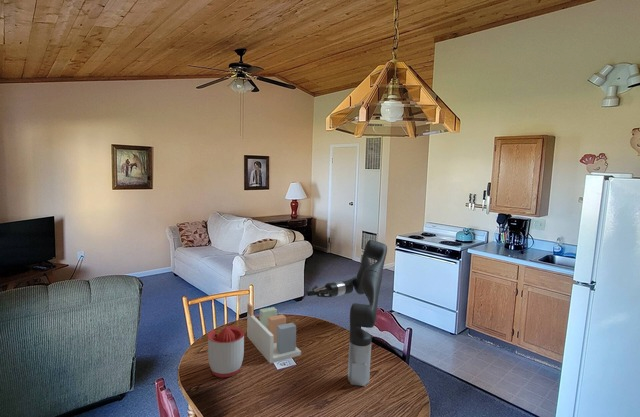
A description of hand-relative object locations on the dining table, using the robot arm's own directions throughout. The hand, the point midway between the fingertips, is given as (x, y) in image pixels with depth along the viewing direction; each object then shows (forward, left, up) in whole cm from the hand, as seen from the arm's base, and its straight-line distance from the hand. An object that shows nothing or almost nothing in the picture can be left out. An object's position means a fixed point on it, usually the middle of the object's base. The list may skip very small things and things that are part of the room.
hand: (307, 293), depth 194 cm
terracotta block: (-11, +13, -21) cm, 27 cm away
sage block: (-2, +20, -21) cm, 30 cm away
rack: (-12, +15, -24) cm, 30 cm away
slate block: (-19, +6, -21) cm, 30 cm away
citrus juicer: (-38, +29, -24) cm, 53 cm away
